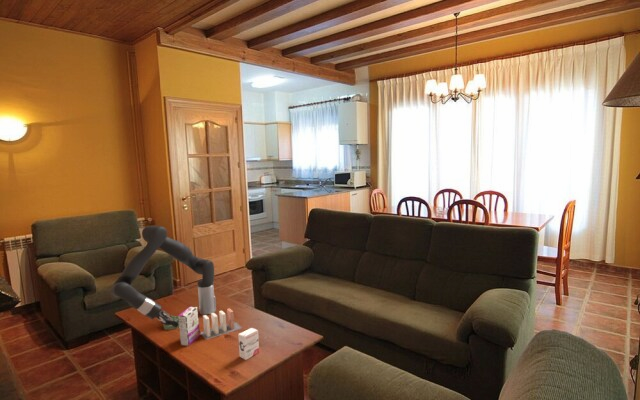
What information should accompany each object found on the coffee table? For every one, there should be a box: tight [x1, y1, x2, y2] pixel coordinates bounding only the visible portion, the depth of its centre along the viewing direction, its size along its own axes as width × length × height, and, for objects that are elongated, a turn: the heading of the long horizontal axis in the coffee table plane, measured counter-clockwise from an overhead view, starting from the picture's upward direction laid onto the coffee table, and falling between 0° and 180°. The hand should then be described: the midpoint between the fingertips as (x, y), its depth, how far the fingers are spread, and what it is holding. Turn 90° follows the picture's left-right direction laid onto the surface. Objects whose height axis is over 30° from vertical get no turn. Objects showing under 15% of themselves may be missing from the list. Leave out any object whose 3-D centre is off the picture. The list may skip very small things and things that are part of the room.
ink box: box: [237, 327, 260, 361], centre depth 176 cm, size 8×5×12 cm, turn 140°
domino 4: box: [226, 307, 235, 329], centre depth 204 cm, size 2×6×10 cm, turn 35°
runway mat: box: [200, 321, 243, 341], centre depth 201 cm, size 20×10×1 cm, turn 125°
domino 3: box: [218, 310, 227, 332], centre depth 201 cm, size 2×6×10 cm, turn 35°
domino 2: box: [210, 312, 219, 334], centre depth 198 cm, size 2×6×10 cm, turn 35°
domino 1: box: [202, 314, 211, 337], centre depth 196 cm, size 2×6×10 cm, turn 35°
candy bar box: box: [177, 306, 201, 346], centre depth 190 cm, size 11×5×16 cm, turn 168°
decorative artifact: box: [163, 314, 179, 331], centre depth 208 cm, size 10×7×10 cm
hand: (177, 325), depth 188 cm, fingers closed
